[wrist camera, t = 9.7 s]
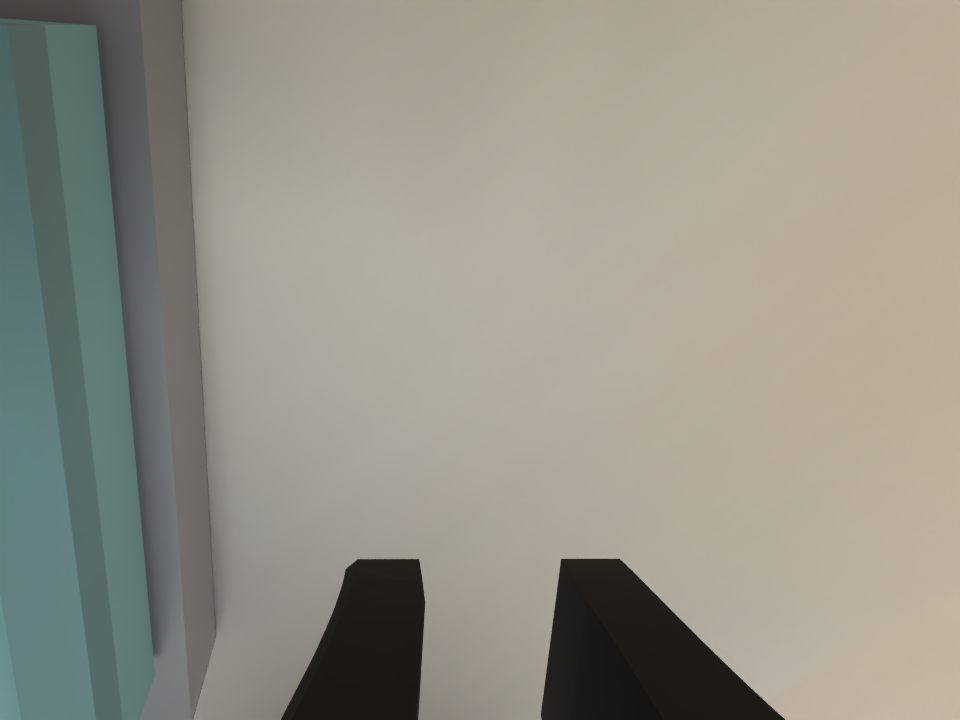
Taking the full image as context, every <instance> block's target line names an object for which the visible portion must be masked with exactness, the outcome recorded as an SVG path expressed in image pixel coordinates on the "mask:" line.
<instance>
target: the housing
mask: <svg viewBox="0 0 960 720" xmlns="http://www.w3.org/2000/svg"><path fill="white" fill-rule="evenodd" d="M0 18H6V19H20V20H33V21H46V22H59V23H72V24H86V25H96V29H97V40H98V51H99V62H100V73H101V84H102V95H103V106H104V117H105V128H106V139H107V150H108V161H109V172H110V183H111V194H112V205H113V216H114V227H115V238H116V249H117V260H118V271H119V282H120V294H121V305H122V316H123V327H124V338H125V349H126V360H127V371H128V382H129V393H130V404H131V415H132V426H133V437H134V448H135V459H136V470H137V481H138V492H139V503H140V514H141V525H142V536H143V547H144V558H145V569H146V580H147V591H148V602H149V613H150V624H151V635H152V646H153V657H154V668H155V677H154V680H153V682H152V685H151V688H150V691H149V694H148V697H147V699H146V702H145V705H144V708H143V711H142V713H141V716H140V719H139V720H193V718H194V714H195V710H196V707H197V703H198V700H199V696H200V692H201V689H202V685H203V682H204V678H205V674H206V671H207V667H208V663H209V660H210V656H211V653H212V649H213V645H214V642H215V638H216V626H215V608H214V589H213V571H212V553H211V535H210V517H209V498H208V480H207V462H206V444H205V426H204V408H203V389H202V371H201V353H200V335H199V317H198V298H197V280H196V262H195V244H194V226H193V208H192V189H191V171H190V153H189V135H188V117H187V98H186V80H185V62H184V44H183V26H182V8H181V0H0Z"/></svg>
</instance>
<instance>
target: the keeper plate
mask: <svg viewBox="0 0 960 720" xmlns="http://www.w3.org/2000/svg"><path fill="white" fill-rule="evenodd" d="M154 677H155V668H154V657H153V646H152V635H151V624H150V613H149V602H148V591H147V580H146V569H145V558H144V547H143V536H142V525H141V514H140V503H139V492H138V481H137V470H136V459H135V448H134V437H133V426H132V415H131V404H130V393H129V382H128V371H127V360H126V349H125V338H124V327H123V316H122V305H121V294H120V282H119V271H118V260H117V249H116V238H115V227H114V216H113V205H112V194H111V183H110V172H109V161H108V150H107V139H106V128H105V117H104V106H103V95H102V84H101V73H100V62H99V51H98V40H97V29H96V25H86V24H72V23H59V22H46V21H33V20H20V19H6V18H0V720H139V719H140V716H141V713H142V711H143V708H144V705H145V702H146V699H147V697H148V694H149V691H150V688H151V685H152V682H153V680H154Z"/></svg>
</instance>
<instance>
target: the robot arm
mask: <svg viewBox="0 0 960 720" xmlns="http://www.w3.org/2000/svg"><path fill="white" fill-rule="evenodd" d="M424 613H425V598H424V590H423V582H422V575H421V569H420V562H419V559H358V560H356V561H355V562H354V563H353V564H352V565H350V566H349V567H348V568H347V569H346V571H345V576H344V580H343V584H342V588H341V591H340V594H339V597H338V600H337V603H336V605H335V608H334V611H333V613H332V616H331V618H330V621H329V623H328V625H327V628H326V630H325V632H324V634H323V637H322V639H321V641H320V643H319V646H318V648H317V650H316V652H315V654H314V656H313V658H312V660H311V662H310V664H309V666H308V668H307V670H306V672H305V674H304V676H303V678H302V680H301V682H300V684H299V686H298V688H297V690H296V691H295V693H294V695H293V697H292V699H291V701H290V703H289V705H288V707H287V709H286V711H285V713H284V715H283V717H282V718H281V720H418V713H419V696H420V680H421V663H422V646H423V629H424ZM541 717H542V720H785V719H784V718H783V717H782V716H780V715H779V714H778V713H777V712H776V711H775V710H774V709H773V708H772V707H771V706H770V705H768V704H767V703H766V702H765V701H764V700H763V699H762V698H761V697H760V696H759V695H758V694H757V693H755V692H754V691H753V690H752V689H751V688H750V687H749V686H748V685H747V684H746V683H745V682H744V681H743V680H742V679H741V678H740V677H739V676H738V675H736V674H735V673H734V672H733V671H732V670H731V669H730V668H729V667H728V666H727V665H726V664H725V663H724V662H723V661H722V660H721V659H720V658H719V657H718V656H717V655H716V654H715V653H714V652H713V651H712V650H711V649H710V648H709V647H708V646H707V645H706V644H704V643H703V642H702V641H701V640H700V639H699V638H698V637H697V636H696V635H695V634H694V633H693V632H692V631H691V630H690V629H689V628H688V627H687V626H686V625H685V624H684V623H683V622H682V621H681V620H680V619H679V618H678V617H677V616H676V615H675V614H674V613H673V612H672V611H671V610H670V609H669V608H668V607H667V606H666V605H665V604H664V602H663V601H662V600H661V599H660V598H659V597H658V596H657V595H656V594H655V593H654V592H653V591H652V590H651V589H650V588H649V587H648V586H647V585H646V584H645V583H644V582H643V581H642V580H641V579H640V578H639V577H638V576H637V575H636V574H635V573H634V572H633V571H632V570H631V569H630V568H629V567H627V566H626V565H625V564H624V563H623V562H622V561H621V560H620V559H561V565H560V573H559V581H558V588H557V596H556V604H555V611H554V619H553V627H552V634H551V642H550V650H549V657H548V665H547V673H546V680H545V688H544V695H543V703H542V711H541Z"/></svg>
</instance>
